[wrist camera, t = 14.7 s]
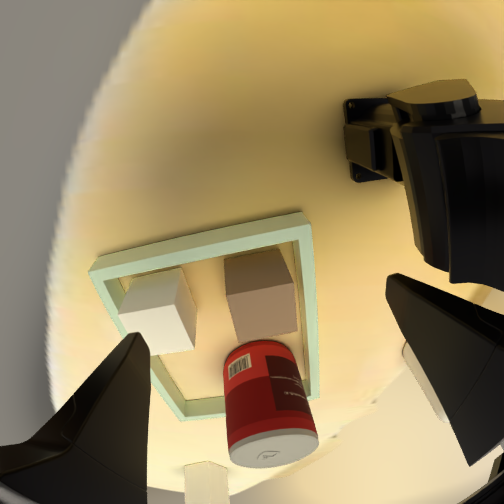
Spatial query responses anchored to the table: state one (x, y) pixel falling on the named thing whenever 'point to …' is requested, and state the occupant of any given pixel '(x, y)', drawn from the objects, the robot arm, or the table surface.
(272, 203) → the table surface
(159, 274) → the white block
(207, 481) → the milk
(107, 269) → the mint green rectangular frame
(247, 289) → the brown carton
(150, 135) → the table surface
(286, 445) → the canned food
